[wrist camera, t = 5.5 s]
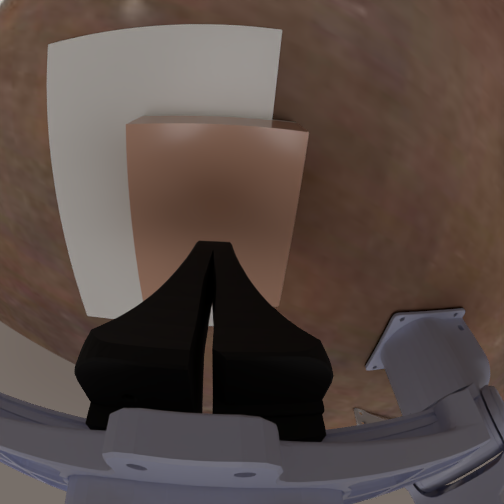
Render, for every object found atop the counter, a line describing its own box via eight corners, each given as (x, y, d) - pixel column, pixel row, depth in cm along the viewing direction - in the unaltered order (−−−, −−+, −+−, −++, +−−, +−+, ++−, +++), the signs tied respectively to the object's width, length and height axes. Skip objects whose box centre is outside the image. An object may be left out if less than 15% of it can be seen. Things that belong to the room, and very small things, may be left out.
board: (280, 31, 13) (282, 29, 12) (247, 321, 23) (247, 327, 23) (53, 44, 11) (48, 44, 11) (89, 310, 22) (87, 315, 21)
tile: (309, 132, 12) (125, 124, 12) (278, 306, 18) (142, 300, 17) (295, 121, 15) (143, 115, 14) (273, 275, 20) (152, 270, 19)
